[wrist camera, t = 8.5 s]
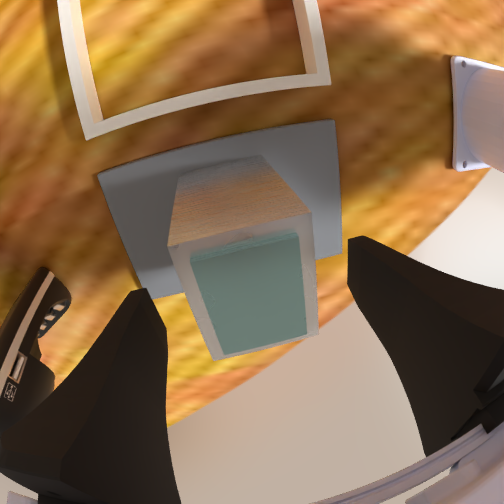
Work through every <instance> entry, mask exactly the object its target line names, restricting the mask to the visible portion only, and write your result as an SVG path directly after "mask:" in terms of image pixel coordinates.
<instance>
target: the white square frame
mask: <svg viewBox="0 0 504 504" xmlns="http://www.w3.org/2000/svg"><path fill="white" fill-rule="evenodd" d="M292 1H293V6H294V10H295V15H296V20H297V25H298V30H299V35H300V41H301V46H302V52H303V57H304V63H305V69H306V74H302V75H292V76H283V77H275V78H268V79H261V80H254V81H248V82H242V83H236V84H231V85H226V86H221V87H216V88H211V89H207V90H202V91H198V92H194V93H189V94H185V95H181V96H178V97H174V98H170V99H167V100H163V101H159V102H156V103H153V104H149V105H146V106H143V107H140V108H137V109H134V110H131V111H128V112H125V113H122V114H119V115H116V116H113V117H111V118H108V119H105V120H104V119H103V115H102V112H101V108H100V104H99V100H98V96H97V92H96V87H95V83H94V79H93V74H92V70H91V65H90V60H89V55H88V50H87V45H86V39H85V33H84V28H83V21H82V15H81V8H80V0H57V3H58V12H59V20H60V27H61V33H62V40H63V46H64V51H65V57H66V62H67V67H68V72H69V77H70V81H71V86H72V90H73V94H74V98H75V102H76V106H77V110H78V114H79V118H80V121H81V125H82V129H83V132H84V136H85V139H86V141H87V140H89V139H92V138H94V137H97V136H99V135H102V134H105V133H108V132H110V131H113V130H116V129H119V128H122V127H125V126H127V125H130V124H134V123H137V122H140V121H143V120H146V119H149V118H153V117H156V116H159V115H163V114H167V113H170V112H174V111H178V110H181V109H185V108H189V107H193V106H197V105H202V104H206V103H210V102H215V101H220V100H224V99H229V98H235V97H240V96H245V95H251V94H257V93H263V92H270V91H277V90H285V89H293V88H302V87H312V86H323V85H331V78H330V71H329V64H328V58H327V52H326V46H325V40H324V35H323V29H322V24H321V19H320V14H319V9H318V5H317V0H292Z"/></svg>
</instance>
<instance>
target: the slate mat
mask: <svg viewBox="0 0 504 504" xmlns="http://www.w3.org/2000/svg"><path fill="white" fill-rule="evenodd" d="M258 155H262V157H263V158H264V159H265V160H266V161H267V162H268V163H269V164H270V165H271V166H272V167H273V169H274V170H275V171H276V172H277V173H278V174H279V175H280V176H281V178H282V179H283V180H284V181H285V182H286V183H287V184H288V185H289V187H290V188H291V189H292V190H293V191H294V192H295V193H296V195H297V196H298V197H299V198H300V199H301V200H302V202H303V203H304V204H305V205H306V206H307V207H308V209H309V210H310V211H311V212H312V223H313V236H314V249H315V260H318V259H322V258H326V257H330V256H334V255H337V254H341V253H342V217H341V193H340V175H339V161H338V148H337V137H336V126H335V120H332V119H327V120H318V121H311V122H303V123H297V124H290V125H284V126H278V127H272V128H266V129H261V130H255V131H250V132H245V133H240V134H235V135H230V136H226V137H221V138H217V139H213V140H208V141H204V142H200V143H196V144H192V145H188V146H184V147H180V148H177V149H173V150H169V151H166V152H162V153H159V154H155V155H152V156H149V157H145V158H142V159H139V160H135V161H132V162H129V163H126V164H123V165H120V166H117V167H114V168H111V169H108V170H105V171H103V172H100V173H99V174H98V175H97V176H98V179H99V182H100V185H101V188H102V191H103V193H104V196H105V199H106V202H107V204H108V207H109V210H110V212H111V215H112V217H113V220H114V222H115V225H116V227H117V230H118V232H119V235H120V237H121V240H122V242H123V244H124V247H125V249H126V252H127V254H128V256H129V258H130V261H131V263H132V265H133V268H134V270H135V272H136V274H137V276H138V279H139V281H140V283H141V285H142V287H143V288H147V290H148V292H149V294H150V296H151V298H152V299H157V298H161V297H166V296H170V295H174V294H179V293H183V292H184V290H183V287H182V285H181V282H180V280H179V277H178V275H177V272H176V269H175V267H174V264H173V261H172V259H171V256H170V253H169V250H168V248H167V244H168V237H169V231H170V224H171V218H172V212H173V206H174V200H175V195H176V189H177V184H178V178H179V174H181V173H185V172H189V171H192V170H196V169H200V168H204V167H209V166H213V165H217V164H221V163H226V162H230V161H234V160H239V159H244V158H248V157H253V156H258Z"/></svg>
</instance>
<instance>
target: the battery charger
mask: <svg viewBox="0 0 504 504" xmlns="http://www.w3.org/2000/svg"><path fill="white" fill-rule="evenodd" d="M70 304H71V295H70V293H69V291H68V290H67V288H66V287H65V286H64V285H63V284H62V282H60V281H59V280H58V279H57V278H56V277H55V275H54V274H53V273H52V272H51V271H48V270H47V269H46V268H44V267H41V268H39V269H38V270H37V272H36V273H35V275H34V276H33V277H32V279H31V280H30V281H29V283H28V284H27V286H26V287H25V289H24V290H23V291H22V293H21V294H20V296H19V297H18V299H17V300H16V302H15V303H14V305H13V307H12V308H11V310H10V311H9V313H8V315H7V316H6V318H5V320H4V322H3V324H2V326H1V328H0V440H1V435H2V433H3V432H4V431H6V430H7V429H9V428H10V427H11V426H13V425H14V424H16V423H17V422H18V421H20V420H21V419H23V418H24V417H25V416H26V415H28V414H29V413H30V412H31V411H32V410H34V409H35V408H36V407H37V406H38V405H39V404H40V403H42V402H43V401H44V400H45V399H46V398H47V397H48V396H49V395H50V394H51V393H52V392H53V389H54V380H55V375H54V373H53V372H52V371H51V370H50V369H49V368H48V367H47V366H46V365H45V364H43V363H42V362H41V361H40V358H41V355H42V354H41V352H40V349H39V345H38V338H41V337H42V336H43V335H44V334H45V333H46V332H47V331H48V330H49V329H50V328H51V327H52V326H53V325H54V324H55V323H56V322H57V320H58V319H59V318H60V317H61V316H62V315H63V314H64V313H65V312H66V311H67V309H68V308H69V306H70Z"/></svg>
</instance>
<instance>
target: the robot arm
mask: <svg viewBox="0 0 504 504" xmlns="http://www.w3.org/2000/svg"><path fill="white" fill-rule="evenodd" d="M461 63H462V64H461ZM451 71H452V84H453V105H454V142H453V169H454V170H456V171H459V172H460V171H467V170H474V169H481V168H488V167H493V168H495V169H497V170H499V171H501V172H503V173H504V68H503V67H500V66H497V65H493V64H490V63H486V62H482V61H478V60H474V59H470V58H465V57H461V56H452V57H451ZM347 284H348V287H349V289H350V291H351V293H352V295H353V297H354V299H355V301H356V303H357V305H358V307H359V309H360V310H361V312H362V313H363V315H364V316H365V318H366V320H367V321H368V322H369V324H370V326H371V327H372V329H373V330H374V332H375V333H376V335H377V337H378V338H379V340H380V341H381V343H382V344H383V346H384V347H385V349H386V351H387V353H388V354H389V356H390V358H391V360H392V362H393V364H394V366H395V368H396V371H397V373H398V375H399V377H400V380H401V382H402V384H403V387H404V389H405V392H406V394H407V397H408V399H409V402H410V405H411V408H412V411H413V414H414V417H415V420H416V423H417V426H418V430H419V434H420V437H421V441H422V445H423V450H424V453H425V455H426V458H424V459H422V460H421V461H419V462H417V463H415V464H413V465H411V466H409V467H407V468H405V469H403V470H400V471H398V472H396V473H394V474H392V475H390V476H387V477H385V478H383V479H380V480H378V481H375V482H373V483H371V484H368V485H366V486H363V487H360V488H358V489H355V490H352V491H349V492H346V493H344V494H340V495H337V496H334V497H331V498H328V499H325V500H321V501H318V502H314V503H310V504H379V503H381V502H384V501H386V500H388V499H391V498H393V497H395V496H397V495H399V494H401V493H404V492H406V491H408V490H410V489H412V488H414V487H416V486H418V485H420V484H421V483H423V482H425V481H427V480H429V479H431V478H432V477H434V476H436V475H438V474H439V473H441V472H443V471H445V470H446V469H448V468H449V467H451V466H452V467H451V469H450V473H449V475H448V476H446V477H445V478H443V479H441V480H440V481H438V482H436V483H435V484H433V485H431V486H429V487H428V488H426V489H424V490H423V491H421V492H420V493H418V494H416V495H415V496H413V497H411V498H409V499H407V500H406V502H405V503H406V504H504V290H502V289H496V288H492V287H488V286H484V285H481V284H477V283H473V282H470V281H467V280H464V279H461V278H458V277H455V276H452V275H449V274H446V273H444V272H442V271H438V270H437V269H434V268H432V267H430V266H427V265H425V264H422V263H420V262H418V261H416V260H414V259H412V258H410V257H408V256H406V255H404V254H402V253H400V252H398V251H396V250H394V249H392V248H390V247H388V246H385V245H383V244H381V243H379V242H377V241H375V240H373V239H371V238H368V237H366V236H359V237H355V238H351V239H348V278H347ZM167 364H168V344H167V330H166V327H165V325H164V323H163V321H162V319H161V317H160V315H159V313H158V311H157V309H156V307H155V305H154V303H153V301H152V298H151V296H150V294H149V292H148V290H147V288H142V289H138V290H134V291H131V292H130V293H129V294H128V295H127V297H126V298H125V299H124V301H123V302H122V304H121V305H120V307H119V308H118V310H117V311H116V312H115V314H114V315H113V317H112V318H111V320H110V321H109V323H108V324H107V326H106V327H105V329H104V330H103V332H102V333H101V334H100V336H99V337H98V338H97V340H96V341H95V342H94V344H93V345H92V347H91V348H90V349H89V351H88V352H87V354H86V355H85V356H84V357H83V359H82V360H81V361H80V362H79V364H78V365H77V366H76V367H75V368H74V370H73V371H72V372H71V373H70V374H69V375H68V376H67V378H66V379H65V380H64V381H63V382H62V383H61V384H60V385H59V386H58V387H57V388H56V389H55V390H54V391H53V392H52V393H51V394H50V395H49V396H48V397H47V398H46V399H45V400H44V401H43V402H42V403H40V404H39V405H38V406H37V407H36V408H35V409H34V410H32V411H31V412H30V413H29V414H28V415H26V416H25V417H24V418H23V419H21V420H20V421H18V422H17V423H16V424H14V425H13V426H11V427H10V428H9V429H7V430H6V431H4V432H3V433H2V435H1V440H0V472H1V473H2V474H3V475H5V476H6V477H8V478H10V479H11V480H13V481H15V482H17V483H18V484H20V485H22V486H24V487H26V488H28V489H30V490H32V491H34V492H36V493H38V501H37V500H35V499H32V498H29V497H26V496H23V495H20V494H17V493H14V492H11V491H9V492H8V497H7V504H181V500H180V497H179V493H178V490H177V485H176V481H175V476H174V471H173V467H172V462H171V455H170V449H169V441H168V434H167V423H166V384H167Z"/></svg>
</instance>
